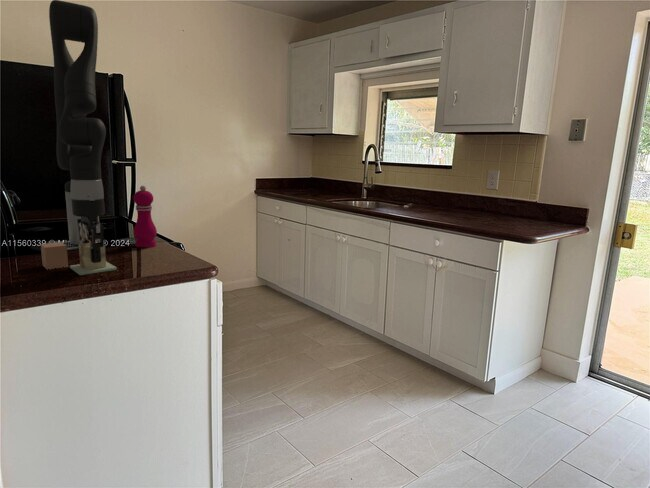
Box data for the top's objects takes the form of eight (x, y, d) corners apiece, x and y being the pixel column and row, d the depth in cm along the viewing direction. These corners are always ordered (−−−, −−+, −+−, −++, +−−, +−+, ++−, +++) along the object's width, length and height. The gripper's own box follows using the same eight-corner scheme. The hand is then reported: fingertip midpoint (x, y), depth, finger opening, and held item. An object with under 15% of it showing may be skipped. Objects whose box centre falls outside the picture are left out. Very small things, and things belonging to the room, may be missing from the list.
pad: (69, 267, 120) (69, 265, 120) (105, 262, 126) (105, 260, 126) (79, 275, 113) (79, 273, 113) (116, 269, 119) (116, 267, 119)
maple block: (80, 265, 119) (78, 243, 118) (100, 262, 123) (98, 241, 122) (85, 270, 116) (84, 247, 115) (106, 267, 119) (104, 245, 118)
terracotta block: (42, 265, 121) (40, 244, 120) (63, 263, 124) (61, 242, 123) (47, 269, 117) (44, 247, 116) (68, 267, 121) (66, 245, 119)
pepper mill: (161, 244, 151) (158, 185, 147) (151, 248, 144) (148, 186, 140) (140, 243, 152) (137, 184, 148) (129, 247, 145) (126, 186, 141)
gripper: (63, 194, 118) (69, 256, 122) (80, 200, 108) (85, 267, 111) (94, 193, 123) (98, 253, 127) (112, 199, 113) (116, 263, 116)
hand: (92, 259), depth 119 cm, fingers open, 5 cm apart
